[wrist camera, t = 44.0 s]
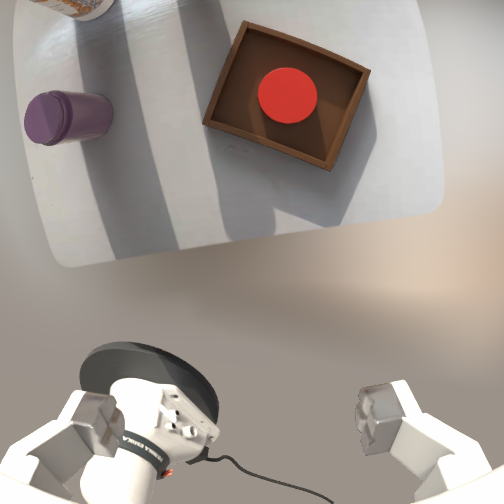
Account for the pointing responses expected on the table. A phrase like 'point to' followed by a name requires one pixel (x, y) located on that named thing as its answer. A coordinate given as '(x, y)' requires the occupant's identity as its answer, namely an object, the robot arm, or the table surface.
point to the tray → (297, 57)
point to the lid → (287, 95)
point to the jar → (67, 117)
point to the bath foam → (78, 7)
